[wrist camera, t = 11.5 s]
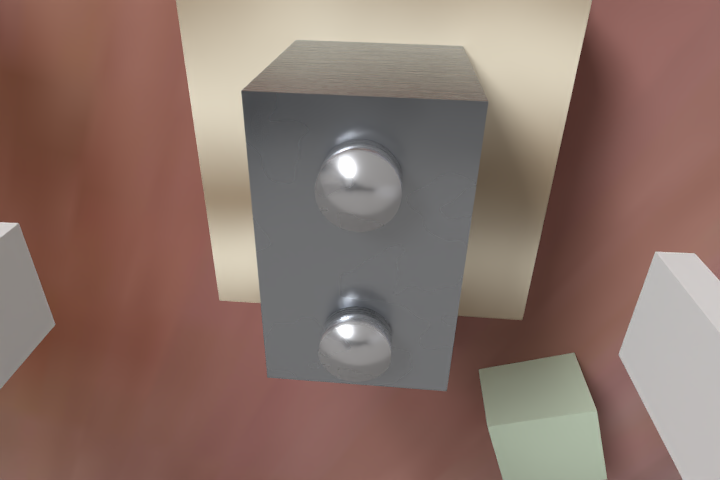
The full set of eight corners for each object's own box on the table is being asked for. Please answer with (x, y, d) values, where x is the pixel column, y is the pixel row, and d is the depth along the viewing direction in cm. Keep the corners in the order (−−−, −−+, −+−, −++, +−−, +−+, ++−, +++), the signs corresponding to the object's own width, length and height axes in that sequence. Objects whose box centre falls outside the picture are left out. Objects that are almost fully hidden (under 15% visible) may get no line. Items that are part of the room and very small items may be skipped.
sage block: (478, 367, 29) (487, 426, 25) (573, 351, 28) (597, 410, 24) (495, 429, 31) (506, 491, 28) (584, 416, 30) (607, 479, 26)
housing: (304, 262, 20) (260, 399, 14) (295, 39, 16) (229, 101, 10) (437, 271, 20) (448, 414, 14) (462, 45, 16) (493, 113, 10)
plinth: (199, -68, 19) (138, -69, 15) (582, -61, 18) (635, -58, 14) (237, 251, 26) (202, 314, 22) (517, 268, 25) (539, 337, 21)
